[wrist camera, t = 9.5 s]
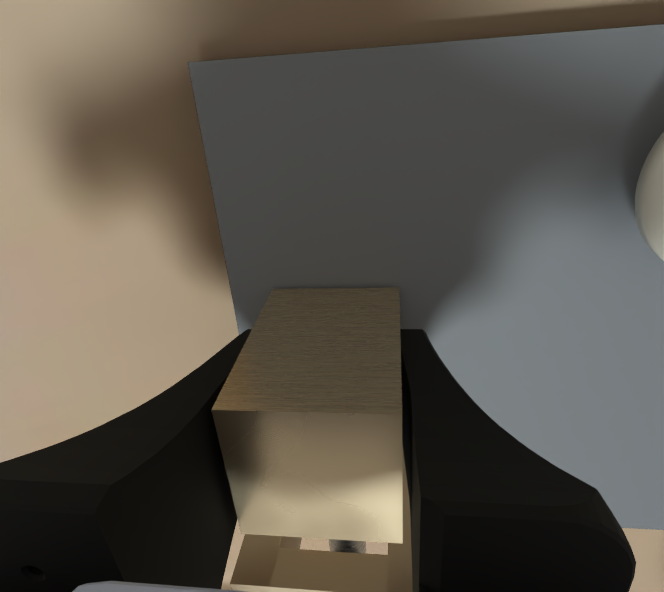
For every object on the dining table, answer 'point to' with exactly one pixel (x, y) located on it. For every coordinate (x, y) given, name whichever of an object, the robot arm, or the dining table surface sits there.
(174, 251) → the dining table surface
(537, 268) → the grey dial panel
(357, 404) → the beige rectangular block
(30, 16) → the dining table surface
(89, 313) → the dining table surface
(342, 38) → the dining table surface
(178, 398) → the robot arm
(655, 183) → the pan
